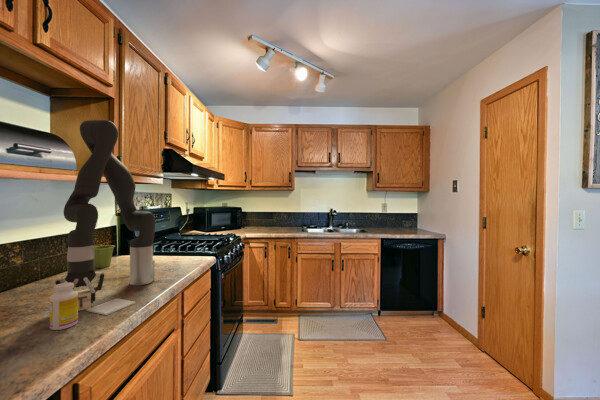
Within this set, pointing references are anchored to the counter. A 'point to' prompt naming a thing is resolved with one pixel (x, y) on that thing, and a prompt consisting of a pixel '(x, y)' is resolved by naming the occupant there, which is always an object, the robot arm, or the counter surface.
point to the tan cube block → (84, 299)
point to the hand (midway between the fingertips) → (81, 304)
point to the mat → (111, 306)
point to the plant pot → (103, 256)
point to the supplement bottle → (63, 306)
